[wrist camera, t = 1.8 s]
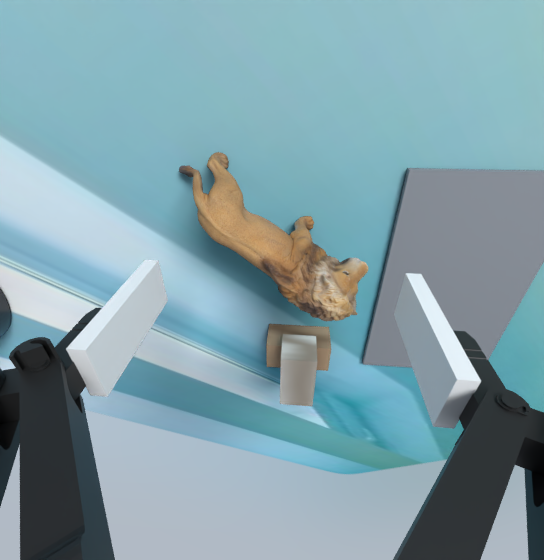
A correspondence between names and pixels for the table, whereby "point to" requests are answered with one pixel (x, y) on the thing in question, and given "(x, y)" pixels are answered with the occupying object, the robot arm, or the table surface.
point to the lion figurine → (277, 248)
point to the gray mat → (461, 252)
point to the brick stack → (298, 359)
